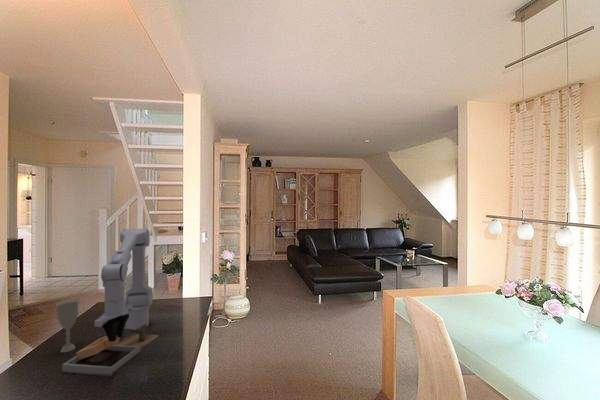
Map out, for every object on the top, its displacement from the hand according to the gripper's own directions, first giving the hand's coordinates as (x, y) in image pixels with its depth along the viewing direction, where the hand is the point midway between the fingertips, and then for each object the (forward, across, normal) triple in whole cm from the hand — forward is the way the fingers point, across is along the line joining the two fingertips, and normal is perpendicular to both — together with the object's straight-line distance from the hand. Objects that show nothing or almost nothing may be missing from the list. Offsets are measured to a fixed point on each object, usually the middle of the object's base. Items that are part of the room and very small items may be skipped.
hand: (115, 338), depth 98 cm
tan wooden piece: (+8, +14, +3) cm, 17 cm away
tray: (+8, 0, +4) cm, 10 cm away
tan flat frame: (+4, +1, +5) cm, 7 cm away
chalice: (+9, +5, +24) cm, 26 cm away
